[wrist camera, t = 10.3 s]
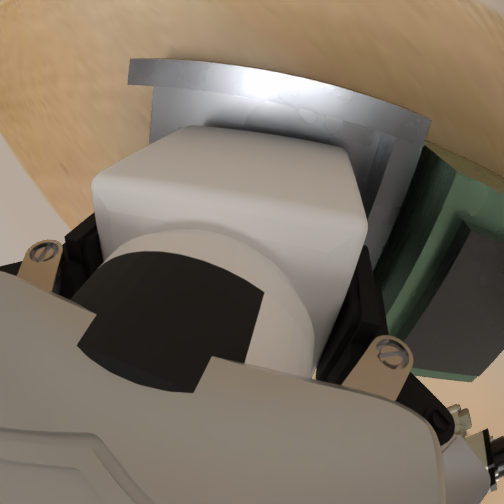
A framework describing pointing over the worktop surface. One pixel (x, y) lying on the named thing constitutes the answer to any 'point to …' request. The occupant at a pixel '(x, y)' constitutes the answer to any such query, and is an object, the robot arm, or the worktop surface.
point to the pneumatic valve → (481, 445)
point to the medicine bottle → (220, 255)
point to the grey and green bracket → (373, 198)
